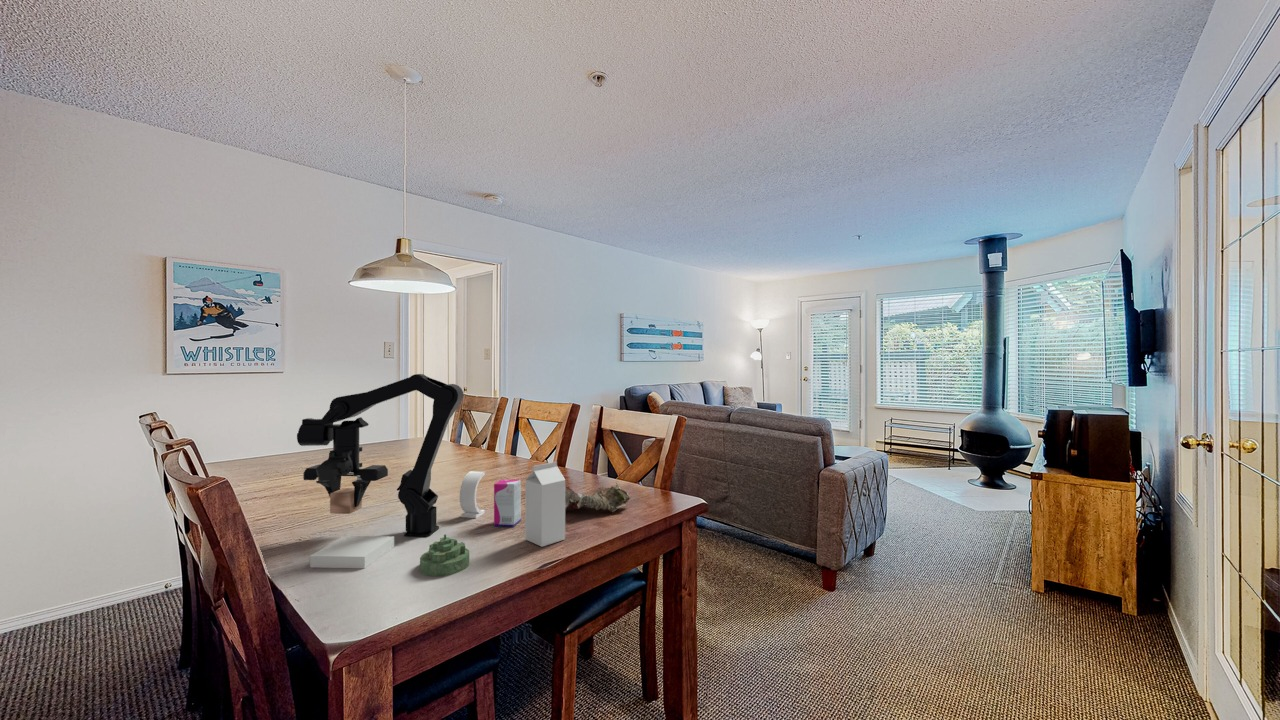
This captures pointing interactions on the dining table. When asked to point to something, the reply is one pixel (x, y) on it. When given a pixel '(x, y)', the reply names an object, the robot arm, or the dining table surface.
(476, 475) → the headphone stand
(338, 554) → the grey plate
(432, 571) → the decorative artifact
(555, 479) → the milk carton
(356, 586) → the dining table surface
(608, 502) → the grey furry oblong lump
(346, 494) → the terracotta cube
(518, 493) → the supplement box
